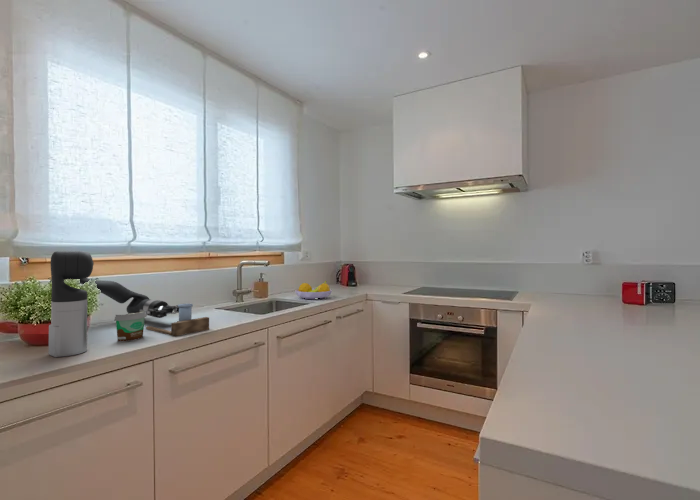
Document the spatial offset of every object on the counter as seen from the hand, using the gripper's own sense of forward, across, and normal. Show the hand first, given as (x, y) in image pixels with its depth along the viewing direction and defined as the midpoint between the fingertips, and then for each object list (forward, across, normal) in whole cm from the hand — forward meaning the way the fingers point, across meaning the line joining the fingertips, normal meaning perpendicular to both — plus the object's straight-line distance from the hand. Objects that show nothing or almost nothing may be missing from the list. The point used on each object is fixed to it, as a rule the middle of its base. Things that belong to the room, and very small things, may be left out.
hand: (175, 312), depth 150 cm
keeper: (+7, 0, +7) cm, 10 cm away
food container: (+4, -18, +7) cm, 20 cm away
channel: (+2, 0, +7) cm, 7 cm away
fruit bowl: (-12, +109, +7) cm, 110 cm away
